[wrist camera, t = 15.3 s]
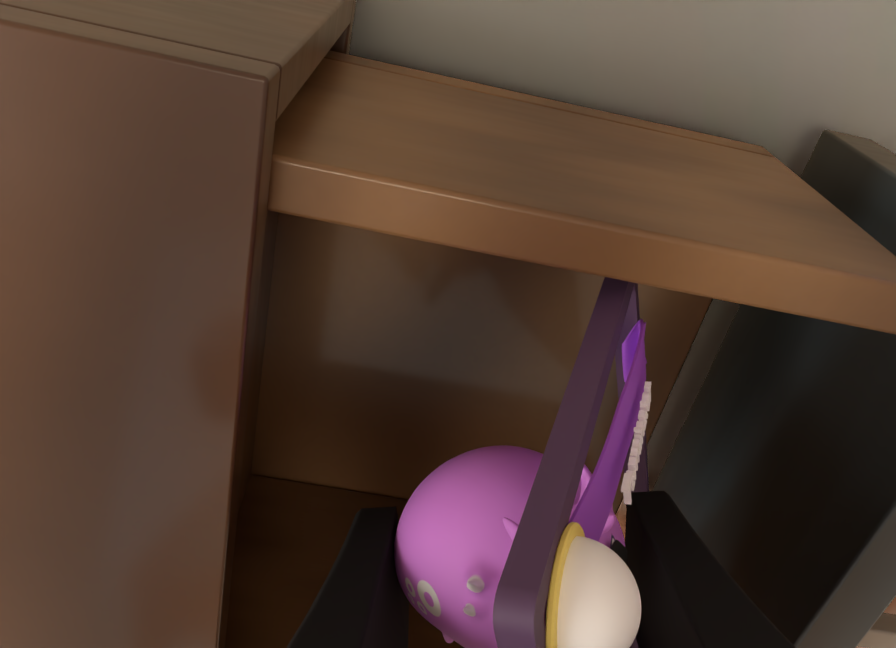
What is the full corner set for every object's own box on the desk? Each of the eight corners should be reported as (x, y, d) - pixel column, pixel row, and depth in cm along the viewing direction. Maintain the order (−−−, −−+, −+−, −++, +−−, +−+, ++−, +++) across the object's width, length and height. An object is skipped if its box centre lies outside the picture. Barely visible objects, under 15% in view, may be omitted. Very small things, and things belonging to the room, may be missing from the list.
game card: (657, 1043, 10) (620, 633, 6) (336, 920, 12) (125, 544, 8) (693, 635, 16) (686, 254, 11) (463, 594, 18) (380, 256, 13)
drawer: (1062, 182, 17) (1424, 354, 11) (804, 571, 23) (933, 821, 17) (269, 2, 15) (139, 83, 9) (228, 479, 22) (137, 722, 15)
